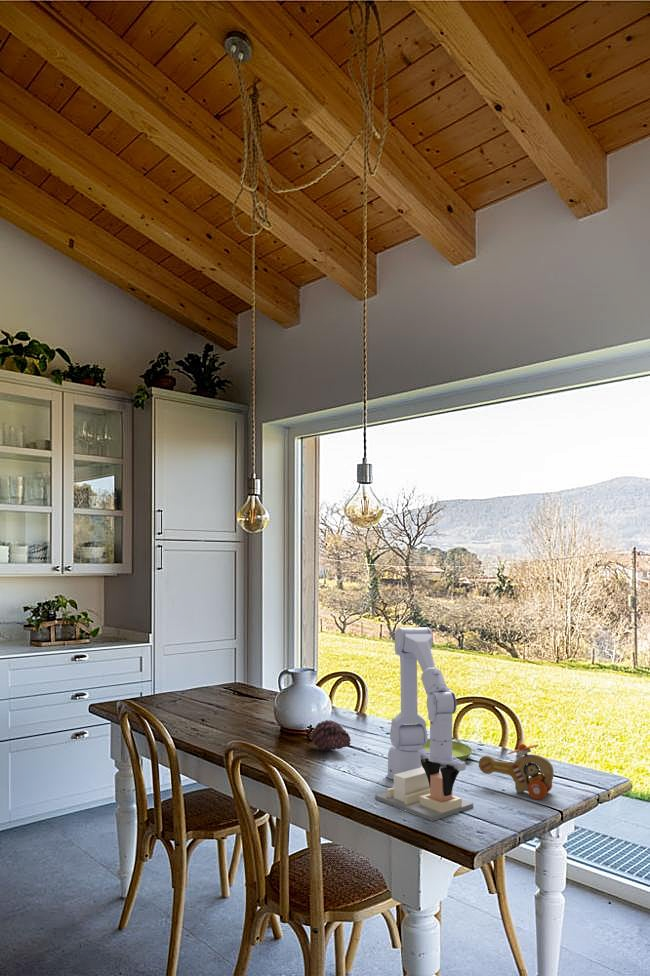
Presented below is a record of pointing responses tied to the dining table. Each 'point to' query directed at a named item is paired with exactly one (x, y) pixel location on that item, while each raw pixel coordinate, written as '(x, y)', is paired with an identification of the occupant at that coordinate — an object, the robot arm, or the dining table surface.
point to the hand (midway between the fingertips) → (440, 792)
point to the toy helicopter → (523, 771)
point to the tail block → (438, 788)
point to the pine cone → (330, 736)
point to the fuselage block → (410, 782)
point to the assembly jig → (425, 804)
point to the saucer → (454, 750)
